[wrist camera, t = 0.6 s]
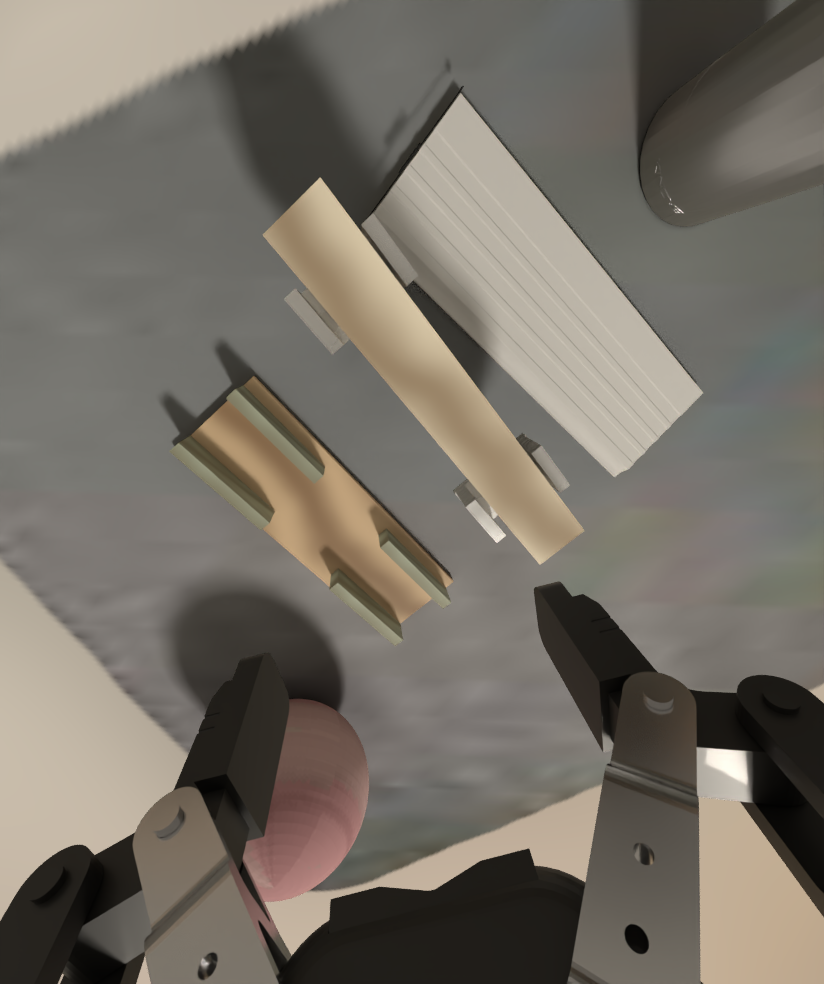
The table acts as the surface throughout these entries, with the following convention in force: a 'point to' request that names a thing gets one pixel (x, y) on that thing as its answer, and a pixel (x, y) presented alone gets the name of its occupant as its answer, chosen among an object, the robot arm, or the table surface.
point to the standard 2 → (481, 506)
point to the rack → (313, 508)
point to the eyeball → (310, 803)
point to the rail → (418, 366)
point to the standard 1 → (315, 312)
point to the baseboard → (532, 291)
